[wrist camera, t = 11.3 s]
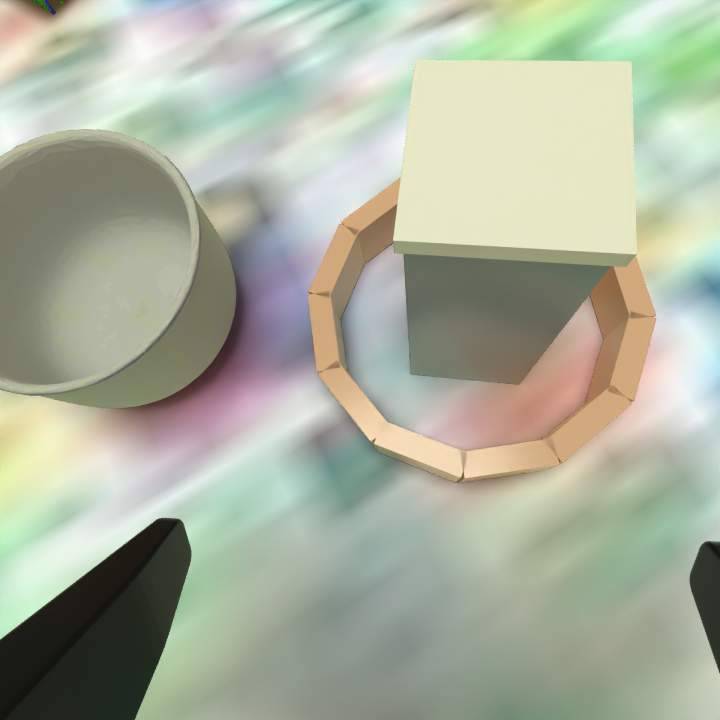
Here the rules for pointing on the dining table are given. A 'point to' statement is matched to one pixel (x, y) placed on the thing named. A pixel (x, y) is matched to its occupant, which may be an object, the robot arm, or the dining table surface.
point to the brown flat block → (46, 4)
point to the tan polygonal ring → (603, 404)
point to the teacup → (106, 273)
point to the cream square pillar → (510, 207)
